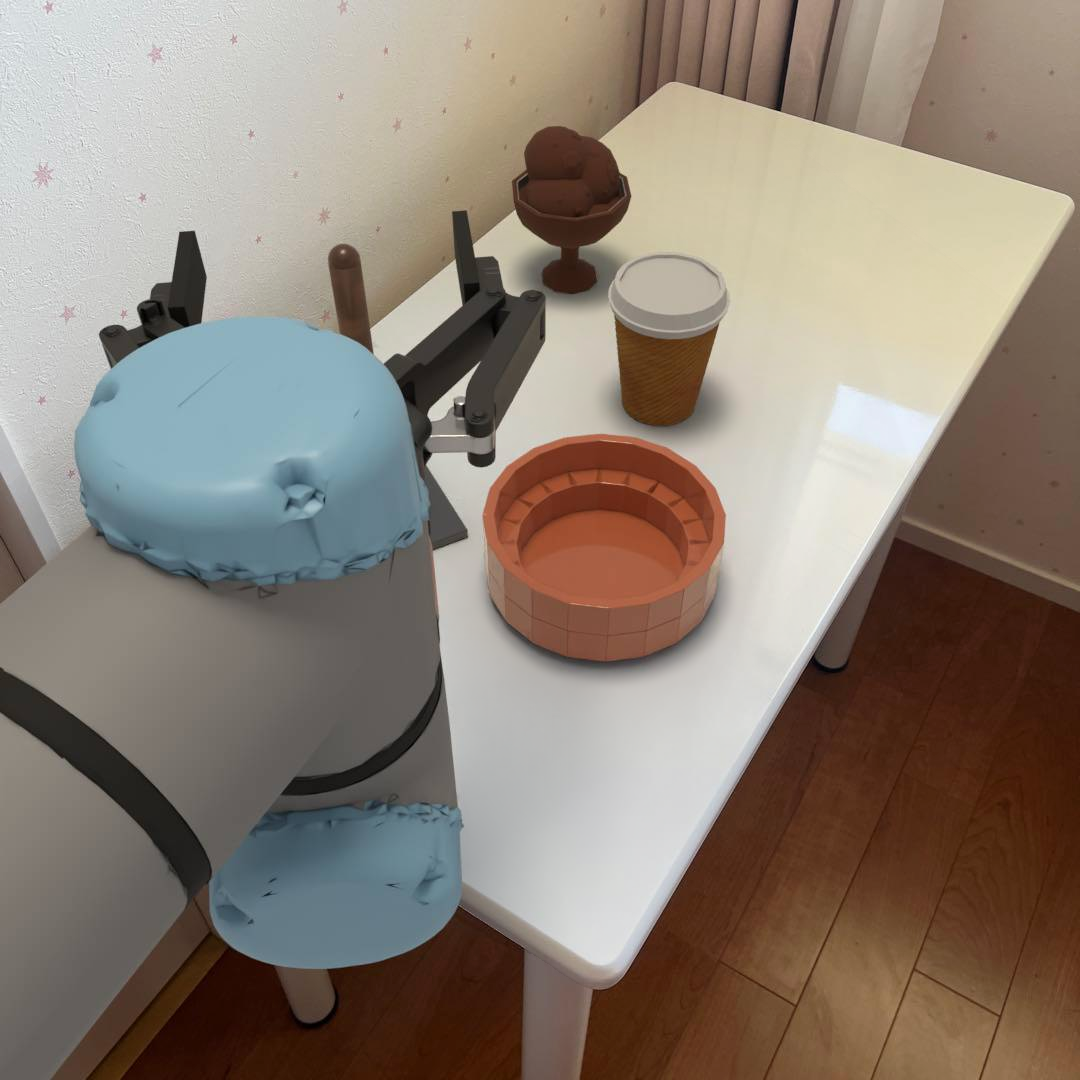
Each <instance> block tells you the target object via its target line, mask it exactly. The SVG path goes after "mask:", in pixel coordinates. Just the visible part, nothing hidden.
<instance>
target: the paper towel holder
mask: <svg viewBox="0 0 1080 1080" xmlns="http://www.w3.org/2000/svg"><path fill="white" fill-rule="evenodd" d="M361 260H362V259H361V255H360V253H359V251H358V250H357V249H356V247H354V246H353V245H351V244H348V243H339V244H336V245H335V246H333V247H332V248H331V249H330V251H329V252H328V255H327V265H328V271H329V277H330V282H331V288H332V295H333V300H334V301H333V302H334V307H335V313H336V320H337V325H338V331H339V332H338V333H339V334H341V335H343V336H346V337H348V338H350V339H352V340H354V341H356V342H358V343H360V344H361V345H363V346H364V347H366V348H367V349H368V350H369V351H370V352H371V353H372V354H373V355H375V353H374V346H373V337H372V331H371V325H370V323H371V322H370V318H369V309H368V304H367V296H366V295H367V294H366V288H365V281H364V275H363V267H362V261H361Z"/></svg>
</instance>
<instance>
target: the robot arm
mask: <svg viewBox="0 0 1080 1080" xmlns="http://www.w3.org/2000/svg"><path fill="white" fill-rule="evenodd" d="M451 216H452V218H451V219H452V232H453V234H452V235H453V247H454V259H455V266H456V273H457V279H458V280H457V281H458V287H459V291H460V299H461V304H462V305H461V306H460V307H459V308H458V309H456V311H455V312H453V313H452V314H451V315H450V316H449V317H448V318H447V319H445V320H444V321H443V322H442V323H441V324H440V325H438V326H437V327H436V328H435V329H434V330H433V331H432V332H430V333H429V334H428V335H426V336H425V338H423V339H422V340H421V341H420V342H419V343H418V344H416V345H415V346H414V347H413V348H412V349H411V350H409V351H408V352H407V353H406V354H405V355H404V354H401V353H395V354H393V355H392V356H391V357H390V358H388V359H387V360H386V361H385V362H383V361H382V360H380V359H379V357H377V356H376V355H375V354H374V355H373V354H372V353H371V352H370V351H369V350H368V349H367V348H366V347H364V346H363V345H361V344H360V343H358V342H356V341H354V340H352V339H350V338H348V337H346V336H343V335H341V334H340V333H337V332H336V333H335V332H334V331H333V330H332V329H325V328H318V327H317V326H315V325H314V324H312V323H310V322H308V321H305V320H300V319H295V318H290V317H280V316H258V315H257V316H253V315H252V316H238V317H237V316H236V317H229V318H223V319H216V320H211V321H206V322H202V321H203V312H204V305H205V294H206V287H207V279H208V278H207V277H208V275H207V273H206V268H205V265H204V260H203V257H202V253H201V250H200V246H199V242H198V241H199V240H198V238H197V234H196V231H195V230H185V231H183V230H182V231H179V233H178V239H177V245H176V250H175V251H176V252H175V257H174V258H175V259H174V263H173V271H172V277H171V281H167V282H156V283H155V285H154V286H152V288H151V289H150V295H149V299H145V300H143V301H141V302H140V303H138V304H137V306H136V312H137V315H138V318H139V321H140V325H138V326H137V327H134V328H130V329H127V328H126V327H125V326H124V325H121V324H111V325H107V326H104V327H103V328H102V329H101V330H100V331H99V332H98V337H99V340H100V342H101V345H102V348H103V351H104V354H105V357H106V360H107V362H108V366H109V367H110V369H109V370H108V371H107V372H105V374H104V376H102V377H101V379H100V380H99V381H98V383H97V384H96V386H95V388H94V392H93V394H92V397H91V399H90V402H89V406H88V408H87V409H86V411H85V413H84V415H83V416H82V417H81V418H80V420H79V422H78V424H77V426H76V428H75V431H74V440H73V441H74V443H73V449H74V459H75V463H76V468H77V471H78V475H79V477H80V480H81V481H80V482H79V489H78V490H79V491H78V492H79V493H80V495H79V502H80V503H81V504H82V506H83V507H84V509H85V516H86V518H87V520H88V522H89V524H90V526H88V527H87V528H86V529H85V530H83V532H81V533H80V534H79V535H78V536H77V537H76V538H75V539H74V540H72V541H71V542H70V543H69V544H68V545H66V546H65V547H64V548H63V549H62V550H61V551H59V552H58V553H57V554H56V555H55V556H53V557H52V559H50V560H48V561H47V563H46V564H44V565H43V566H42V567H41V568H40V569H39V570H38V571H37V572H35V573H34V574H33V575H32V576H31V577H30V578H28V580H26V581H25V582H24V583H22V584H21V586H19V587H18V588H17V589H16V590H14V592H13V593H11V594H10V595H9V596H8V597H7V598H6V599H5V600H4V601H2V602H0V1080H52V1078H53V1077H54V1076H55V1074H56V1073H57V1072H58V1070H59V1069H60V1068H61V1067H62V1065H63V1064H65V1062H66V1060H67V1059H68V1058H69V1057H70V1055H71V1054H72V1053H73V1052H74V1050H75V1049H76V1048H77V1047H78V1045H79V1044H80V1042H81V1041H82V1040H83V1039H84V1037H86V1035H87V1034H88V1032H90V1030H91V1028H93V1027H94V1025H95V1024H96V1022H97V1021H98V1020H99V1019H100V1018H101V1016H102V1015H103V1014H104V1013H105V1011H106V1010H107V1009H108V1007H109V1006H110V1005H111V1003H112V1002H113V1001H114V1000H115V998H116V997H117V996H118V994H119V993H120V992H121V990H123V988H124V987H125V986H126V985H127V983H128V982H129V981H130V979H131V978H132V977H133V975H134V974H135V973H136V971H137V970H138V969H139V968H140V966H141V965H142V964H143V963H144V962H145V960H146V959H147V958H148V956H150V954H151V952H152V951H153V950H154V949H155V948H156V946H157V945H158V944H159V943H160V941H161V940H162V939H163V937H165V935H166V933H167V932H168V931H169V930H170V929H171V927H173V925H174V923H175V922H176V921H177V920H178V919H179V917H180V916H181V915H182V913H183V912H184V910H186V909H187V908H188V907H189V906H190V905H191V903H192V902H193V901H194V899H195V898H196V897H197V896H198V895H199V893H200V892H201V890H202V889H203V888H204V887H205V886H206V885H208V899H209V900H208V901H209V904H208V906H209V914H210V918H211V921H212V924H213V927H214V929H215V930H216V932H217V933H218V935H219V936H220V937H221V939H222V940H223V941H224V942H225V943H227V945H229V946H230V947H231V948H232V949H234V950H235V951H237V952H238V953H241V954H242V955H244V956H247V957H249V958H251V959H253V960H256V961H258V962H259V961H260V962H263V963H265V964H270V965H273V966H278V967H284V968H293V969H305V970H307V969H308V970H328V969H341V968H347V967H355V966H361V965H368V964H373V963H378V962H381V961H385V960H387V959H390V958H394V957H396V956H400V955H403V954H405V953H407V952H410V951H412V950H414V949H416V948H417V947H420V946H421V945H422V944H424V943H426V942H427V941H429V940H431V939H432V938H433V937H435V936H436V935H437V934H438V933H440V932H441V931H442V930H443V929H444V928H445V927H446V926H447V924H448V923H449V922H450V920H451V919H452V917H453V916H454V915H455V913H456V911H457V909H458V907H459V904H460V902H461V898H462V892H463V875H462V874H463V873H462V872H463V871H462V870H463V869H462V848H461V846H462V845H461V831H462V830H463V828H464V827H465V825H464V823H463V817H462V811H461V809H460V808H459V806H458V794H457V783H456V777H455V775H456V773H455V763H454V754H453V743H452V736H451V735H452V734H451V724H450V716H449V708H448V699H447V692H446V691H447V689H446V682H445V675H444V674H445V673H444V668H443V660H442V654H441V653H442V652H441V633H440V610H439V601H438V591H437V589H438V588H437V580H436V569H435V561H434V549H432V544H431V540H430V520H429V507H430V501H429V491H428V489H427V487H426V479H425V466H427V463H429V460H430V459H431V458H432V456H433V454H444V453H445V454H451V453H452V454H453V453H454V454H456V453H457V454H458V453H466V454H467V461H468V463H469V464H470V465H471V466H473V467H475V468H487V467H489V466H491V465H493V464H494V463H495V461H496V456H497V455H496V454H497V453H496V449H497V448H496V447H497V446H496V445H497V444H496V441H497V440H496V439H497V435H496V433H497V430H498V428H499V427H500V425H501V423H502V421H503V420H504V418H505V415H506V414H507V412H508V411H509V408H510V407H511V404H512V403H513V401H514V399H515V397H516V395H517V394H518V392H519V390H520V389H521V386H522V385H523V383H524V381H525V379H526V377H527V376H528V374H529V371H530V370H531V368H532V366H533V364H534V363H535V361H536V359H537V357H538V355H539V354H540V351H541V350H542V349H543V346H544V344H545V342H546V339H547V338H546V334H547V333H546V329H547V327H546V325H547V323H546V320H547V319H546V317H547V315H546V311H547V309H546V308H547V307H546V306H547V303H546V299H547V298H546V297H547V296H546V294H545V293H544V292H543V291H541V290H538V289H528V290H524V291H523V292H522V293H521V294H520V295H519V296H515V295H512V294H509V293H508V292H506V290H505V288H504V284H503V279H502V273H501V269H500V264H499V260H498V259H496V257H495V256H494V255H489V256H476V255H475V250H474V243H473V238H472V232H471V226H470V221H469V216H468V211H467V209H466V210H452V211H451ZM475 367H476V369H475V370H474V372H473V373H472V375H471V377H470V379H469V381H468V382H467V387H466V390H465V396H463V395H458V396H456V397H455V398H453V406H452V407H450V408H449V409H448V410H447V412H446V414H445V416H444V417H442V418H440V419H438V420H432V421H431V419H430V417H429V416H428V415H429V411H430V409H431V408H432V407H434V405H435V404H436V403H438V402H439V401H440V400H441V399H442V398H443V397H444V396H445V395H446V394H447V393H448V392H450V391H451V390H452V389H453V388H454V387H455V386H456V385H458V383H459V382H460V381H461V380H462V379H463V378H465V377H466V375H468V374H469V373H470V372H471V371H472V370H473V369H474V368H475Z"/></svg>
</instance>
